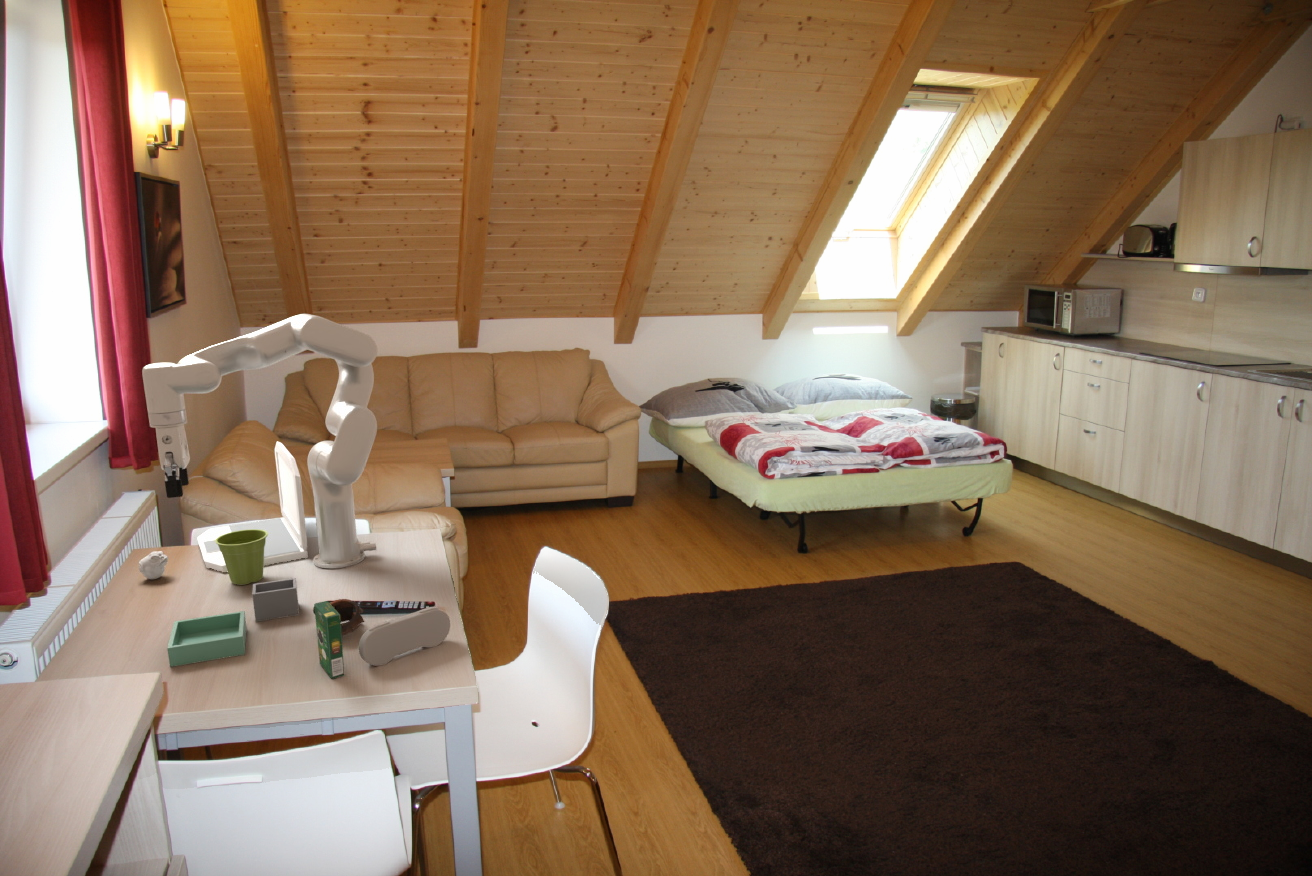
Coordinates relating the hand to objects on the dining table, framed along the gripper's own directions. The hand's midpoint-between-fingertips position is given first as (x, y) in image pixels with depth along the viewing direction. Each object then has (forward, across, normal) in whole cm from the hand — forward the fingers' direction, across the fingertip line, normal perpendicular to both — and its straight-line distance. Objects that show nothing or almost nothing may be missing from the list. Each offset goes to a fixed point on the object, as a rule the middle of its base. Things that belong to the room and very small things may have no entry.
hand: (178, 491), depth 210 cm
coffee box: (+26, -51, -30) cm, 65 cm away
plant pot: (+26, +6, -11) cm, 29 cm away
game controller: (+26, -49, -45) cm, 71 cm away
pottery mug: (+26, -32, -32) cm, 53 cm away
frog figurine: (+26, +16, +10) cm, 32 cm away
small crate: (+26, -17, -19) cm, 37 cm away
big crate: (+26, -31, -7) cm, 41 cm away
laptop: (+26, +32, -10) cm, 42 cm away
